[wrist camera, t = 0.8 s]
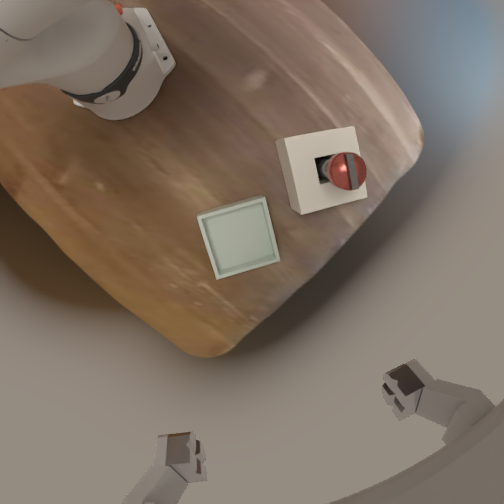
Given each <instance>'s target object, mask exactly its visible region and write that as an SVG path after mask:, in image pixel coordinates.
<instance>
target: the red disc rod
mask: <svg viewBox="0 0 504 504" xmlns="http://www.w3.org/2000/svg"><path fill="white" fill-rule="evenodd" d="M315 164H316V169H317V173H318V176H319V177H325V178H328V179H329V181H330V182H331V183H332V184H333V185H334V186H335V187H337V188H340V189H344V190H348V191H352V190H356V189H359V187H360V186H361V185H362V184H363V183H364V181H365V178H366V165H365V163H364V161H363V159H362V158H361V157H360V156H359V155H357V154H355V153H352V152H339V153H337V154H335V155H333V156H332V157H331V158H330V159H315Z"/></svg>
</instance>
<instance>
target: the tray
mask: <svg viewBox="0 0 504 504" xmlns="http://www.w3.org/2000/svg"><path fill="white" fill-rule="evenodd" d="M197 219H198V223H199V226H200V229H201V232H202V236H203V239H204V242H205V245H206V248H207V251H208V254H209V257H210V261H211V264H212V267H213V270H214V273H215V276H216V279H221V278H224V277H228V276H231V275H234V274H238V273H241V272H245V271H248V270H251V269H255V268H258V267H262V266H265V265H268V264H272V263H275V262H278V261H280V257H279V252H278V248H277V244H276V240H275V235H274V231H273V227H272V223H271V219H270V215H269V210H268V206H267V202H266V198H265V197H264V196H263V195H259V196H255V197H252V198H248V199H244V200H241V201H237V202H234V203H230V204H227V205H223V206H220V207H216V208H213V209H209V210H206V211H203V212H199V213H197Z"/></svg>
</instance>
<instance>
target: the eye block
mask: <svg viewBox="0 0 504 504" xmlns="http://www.w3.org/2000/svg"><path fill="white" fill-rule="evenodd" d="M275 143H276V147H277V151H278V155H279V159H280V163H281V167H282V172H283V176H284V180H285V184H286V189H287V193H288V197H289V202H290V206H291V209H293V210H295V211H296V212H298V213H299V214H301V215H303V214H307V213H310V212H314V211H318V210H321V209H325V208H329V207H333V206H336V205H340V204H344V203H348V202H351V201H355V200H359V199H363V198H367V191H366V185H365V181H364V183H363V184H362V185H361V186H360V187H359V189H356V190H352V191H348V190H344V189H340V188H337V187H335V186H334V185H333V184H332V183H331V182H330V181H329V179H328V178H325V177H323V178H318V173H317V169H316V164H315V159H314V158H318V157H322V156H324V157H325V159H330V158H331V157H332V156H333V155H335V154H337V153H339V152H352V153H355V154H357V155H359V156H360V151H359V146H358V141H357V137H356V132H355V128H354V126H351V127H345V128H338V129H332V130H326V131H320V132H314V133H309V134H303V135H298V136H293V137H288V138H283V139H280V140H276V141H275ZM360 157H361V156H360Z"/></svg>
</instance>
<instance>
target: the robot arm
mask: <svg viewBox="0 0 504 504" xmlns="http://www.w3.org/2000/svg"><path fill="white" fill-rule="evenodd" d="M165 57H167V58H168V59H167V60H163V59H164V58H165ZM175 65H176V63H175V60H174V58H173V56H172V54H171V52H170V50H169V49H168V47H167V45H166V43H165V41H164V39H163V37H162V35H161V34H160V32H159V30H158V28H157V26H156V24H155V22H154V20H153V19H152V17H151V15H150V13H149V11H148V10H147V9H146V8H122V6H121V4H120V3H119V4H116V5H115V6H114V5H113V4H112V3H111V2H110V1H108V0H0V89H2V88H7V87H13V86H19V85H26V84H46V85H50V86H53V87H56V88H59V89H61V90H62V91H63V92H64V93H65V94H67V95H68V96H69V97H71V98H72V99H73V103H74V104H75V105H76V106H78V107H83V108H88V109H90V110H91V111H92V112H94V113H95V114H96V115H98V116H99V117H101V118H104V119H108V120H121V119H126V118H129V117H131V116H134V115H136V114H137V113H139V112H141V111H142V110H143V109H145V108H146V107H147V106H148V105H149V104H150V103H151V102H152V101H153V99H154V98H155V97H156V95H157V93H158V92H159V89H160V87H161V85H162V82H163V80H164V78H165V77H166V76H167V75H168V74H169V73H170V72H171V71H172V70H173V69H174V67H175ZM383 379H384V381H385V383H384V384H383V386H382V393H383V397H384V399H385V401H386V402H387V404H389V405H391V406H393V410H392V411H393V413H394V414H395V415H396V417H397V418H398V420H399V421H401V420H402V419H405V418H406V417H409V416H410V415H412V414H414V413H416V414H418V415H420V416H422V417H424V418H426V419H428V420H431V421H433V422H435V423H437V424H440V425H442V426H444V427H447V430H446V431H445V434H444V436H443V438H442V440H443V441H444V443H445V444H446V446H444V447H442V448H441V449H440V450H438V451H436V452H435V453H433V454H432V455H430V456H429V457H427V458H425V459H423V460H422V461H420V462H418V463H417V464H415V465H413V466H412V467H410V468H408V469H406V470H404V471H402V472H400V473H398V474H396V475H394V476H392V477H390V478H388V479H386V480H384V481H382V482H380V483H378V484H376V485H373V486H371V487H369V488H367V489H364V490H362V491H359V492H357V493H355V494H352V495H349V496H347V497H344V498H341V499H339V500H336V501H333V502H330V503H327V504H504V399H503V400H502V401H501V402H500V403H499V404H498V405H497V406H495V405H494V404H493V403H492V402H491V401H490V400H489V399H488V398H487V397H486V396H485V395H484V394H483V393H482V392H481V391H480V390H478V389H473V388H470V387H466V386H462V385H458V384H454V383H451V382H447V381H443V380H439V379H437V380H434V379H433V377H432V376H431V375H430V374H429V373H428V372H427V371H426V370H425V369H424V368H423V367H422V366H421V365H420V363H419V362H418V361H417V360H415V359H413V360H411V361H409V362H407V363H405V364H403V365H400V366H398V367H397V368H394V369H392V370H390V371H388V372H386V373H385V374H384V377H383ZM205 460H206V457H205V451H204V448H203V445H202V443H201V442H200V441H199V440H196V435H195V434H194V433H193V432H185V433H176V434H166V435H158V437H157V439H156V447H155V459H154V466H151V467H150V468H149V469H148V471H147V472H146V473H145V475H144V476H143V477H142V478H141V479H140V481H139V482H138V483H137V484H136V485H135V486H134V488H133V489H132V490H131V491H130V492H129V494H128V495H127V496H126V497H125V498H124V500H123V503H122V504H177V503H178V501H179V500H180V498H181V496H182V494H183V493H184V491H185V489H186V487H187V486H188V483H191V482H199V481H207V472H206V467H205V466H204V465H203V463H204V461H205Z"/></svg>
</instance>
